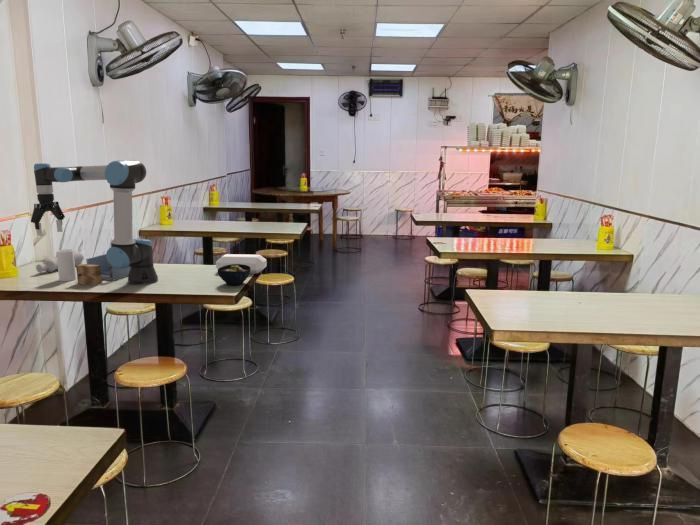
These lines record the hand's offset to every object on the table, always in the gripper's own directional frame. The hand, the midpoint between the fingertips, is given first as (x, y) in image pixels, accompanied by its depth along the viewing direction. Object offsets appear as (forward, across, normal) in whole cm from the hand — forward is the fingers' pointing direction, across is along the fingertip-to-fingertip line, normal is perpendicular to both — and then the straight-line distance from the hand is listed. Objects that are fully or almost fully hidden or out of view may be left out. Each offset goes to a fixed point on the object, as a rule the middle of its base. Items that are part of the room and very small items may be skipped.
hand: (50, 233), depth 286 cm
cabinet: (+26, -19, +20) cm, 38 cm away
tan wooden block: (+26, -1, +21) cm, 34 cm away
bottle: (+26, -25, -21) cm, 42 cm away
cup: (+26, -5, +3) cm, 27 cm away
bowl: (+27, -22, +95) cm, 101 cm away
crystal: (+27, -50, +85) cm, 102 cm away
